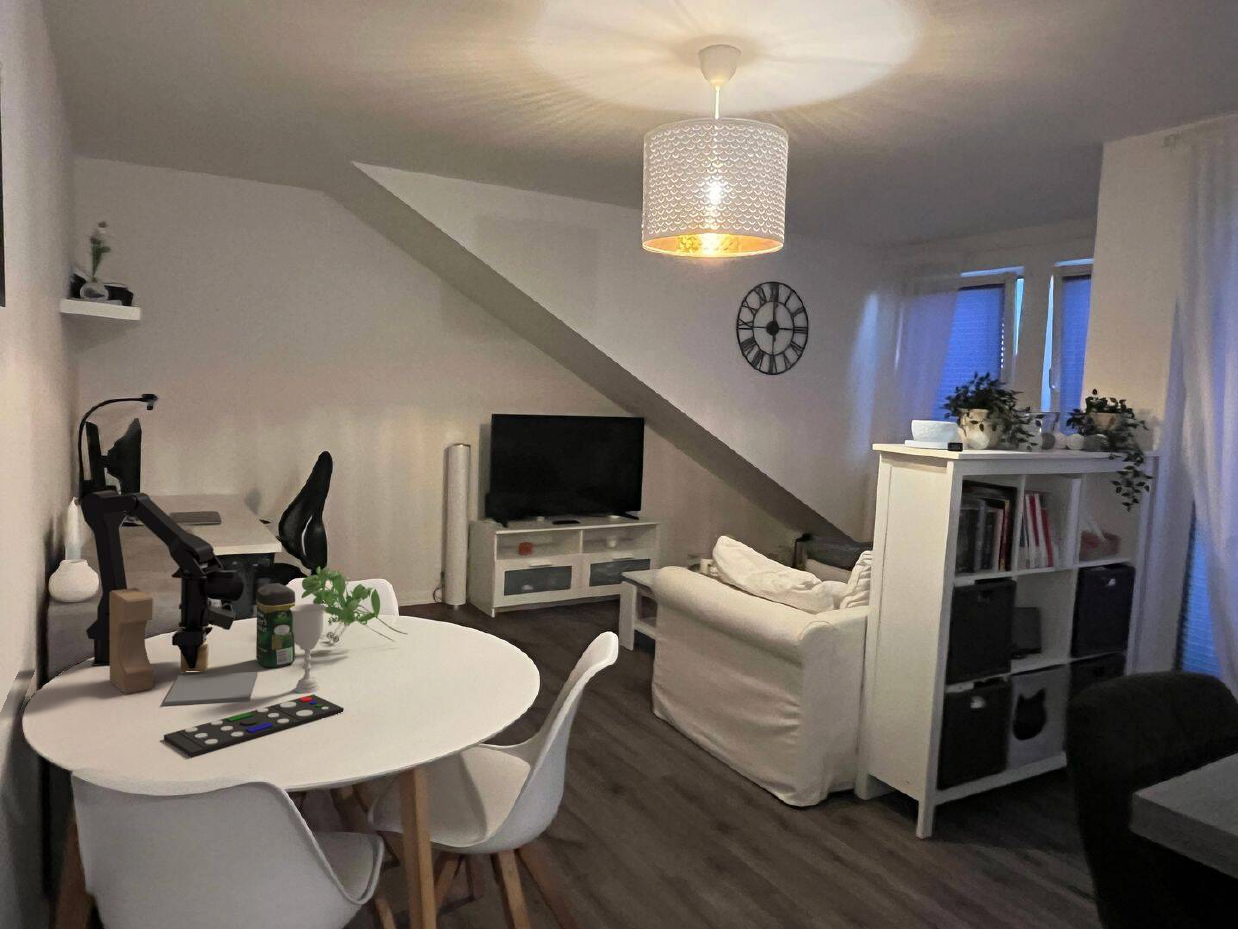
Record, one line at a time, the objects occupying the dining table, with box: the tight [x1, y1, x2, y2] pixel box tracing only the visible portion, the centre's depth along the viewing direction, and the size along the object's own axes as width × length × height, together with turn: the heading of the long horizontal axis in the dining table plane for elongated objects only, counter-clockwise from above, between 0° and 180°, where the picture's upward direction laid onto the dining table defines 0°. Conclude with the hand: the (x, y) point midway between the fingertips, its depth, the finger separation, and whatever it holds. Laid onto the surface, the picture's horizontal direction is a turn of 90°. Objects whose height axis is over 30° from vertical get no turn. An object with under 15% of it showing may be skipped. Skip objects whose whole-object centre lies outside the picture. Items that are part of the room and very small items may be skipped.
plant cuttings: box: [301, 566, 409, 645], centre depth 221 cm, size 35×17×22 cm
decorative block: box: [109, 587, 154, 695], centre depth 181 cm, size 11×6×20 cm, turn 45°
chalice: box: [290, 603, 327, 694], centre depth 184 cm, size 7×7×18 cm
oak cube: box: [179, 643, 209, 672], centre depth 194 cm, size 5×5×5 cm
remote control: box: [163, 694, 344, 758], centre depth 164 cm, size 11×30×2 cm, turn 141°
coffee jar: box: [255, 582, 296, 668], centre depth 200 cm, size 10×8×19 cm
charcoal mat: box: [163, 671, 258, 707], centre depth 182 cm, size 16×16×1 cm
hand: (194, 664), depth 194 cm, fingers closed on oak cube, 5 cm apart
